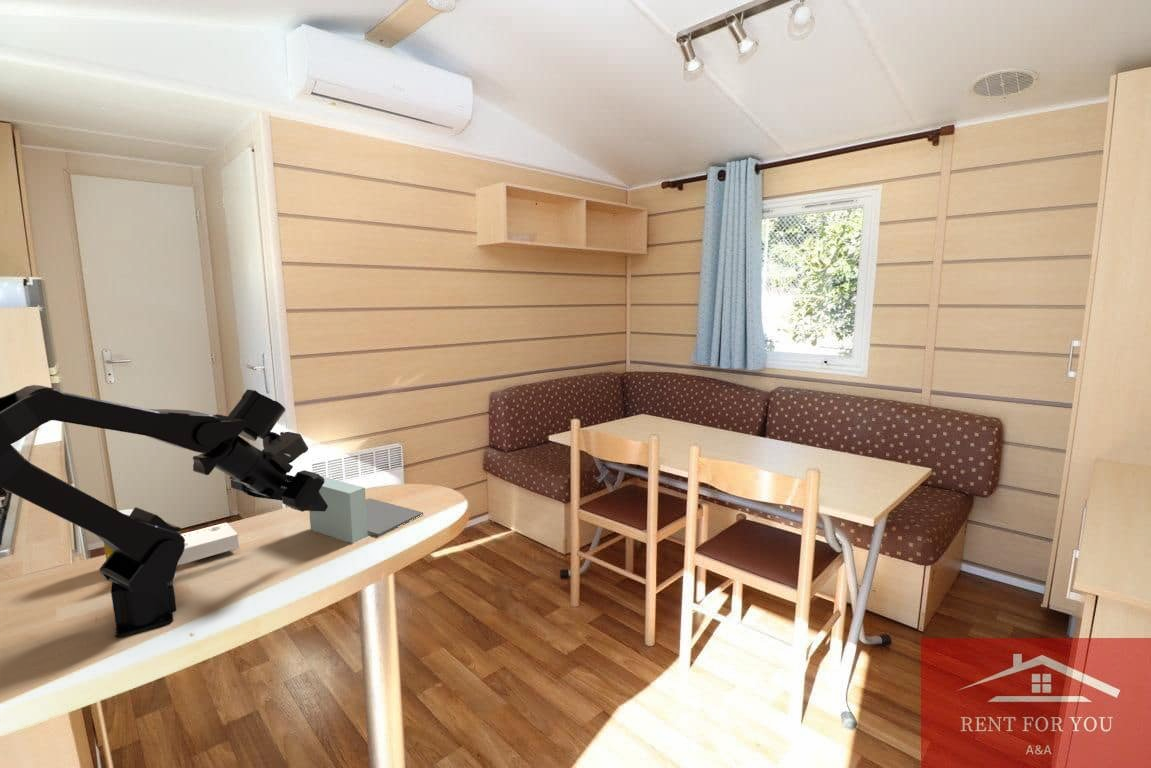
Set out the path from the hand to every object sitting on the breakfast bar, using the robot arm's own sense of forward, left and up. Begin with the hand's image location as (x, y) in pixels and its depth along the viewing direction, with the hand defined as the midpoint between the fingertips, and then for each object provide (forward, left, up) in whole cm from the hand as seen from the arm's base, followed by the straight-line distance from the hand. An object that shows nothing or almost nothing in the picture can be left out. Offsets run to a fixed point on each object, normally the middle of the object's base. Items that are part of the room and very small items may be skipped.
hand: (309, 503), depth 103 cm
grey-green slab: (+5, +3, -8) cm, 10 cm away
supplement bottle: (-27, +9, -8) cm, 30 cm away
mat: (+13, +6, -8) cm, 17 cm away
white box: (-18, +7, -8) cm, 21 cm away
